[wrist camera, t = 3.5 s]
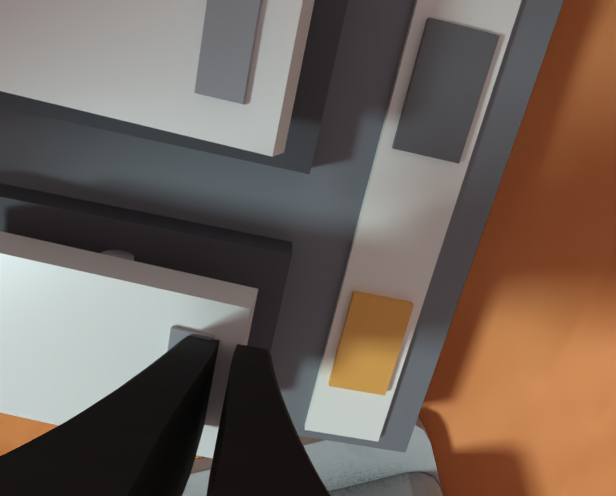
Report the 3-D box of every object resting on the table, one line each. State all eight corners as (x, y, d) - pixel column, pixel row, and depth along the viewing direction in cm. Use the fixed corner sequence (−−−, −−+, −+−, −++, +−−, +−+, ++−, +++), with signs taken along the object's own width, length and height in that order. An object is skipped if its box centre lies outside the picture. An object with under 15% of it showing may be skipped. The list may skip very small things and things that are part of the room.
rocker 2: (-42, 369, 10) (-84, 399, 9) (-44, 221, 9) (-92, 236, 8) (230, 428, 10) (218, 464, 9) (258, 289, 9) (249, 311, 8)
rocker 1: (-33, 76, 9) (-89, 70, 8) (-35, -143, 8) (-101, -186, 7) (284, 152, 8) (270, 157, 7) (329, -70, 7) (321, -104, 6)
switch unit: (-139, 320, 14) (-285, 394, 10) (-225, -680, 8) (-635, -1300, 4) (391, 409, 15) (420, 500, 12) (645, -367, 10) (851, -641, 6)
